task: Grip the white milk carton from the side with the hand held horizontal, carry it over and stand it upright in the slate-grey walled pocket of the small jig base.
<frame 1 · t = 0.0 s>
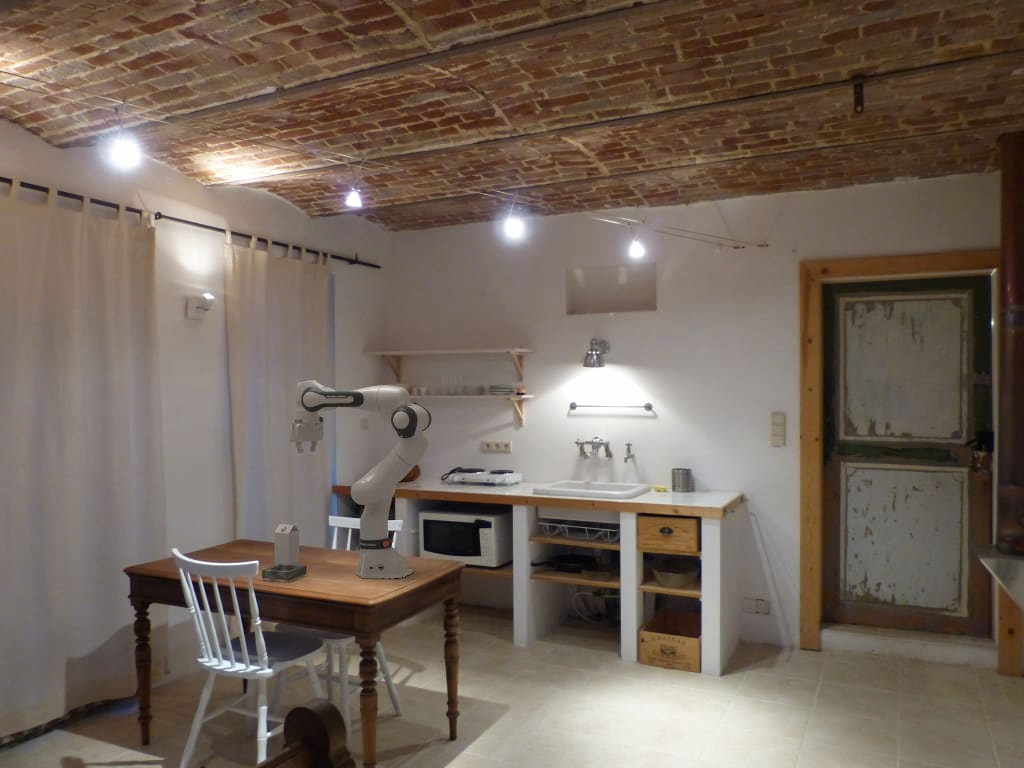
hand: (306, 452, 316), 48 cm above the table, tool pointing down, fingers open, 8 cm apart
milk carton: (286, 568, 318), on the table
jig board: (284, 578, 298), on the table
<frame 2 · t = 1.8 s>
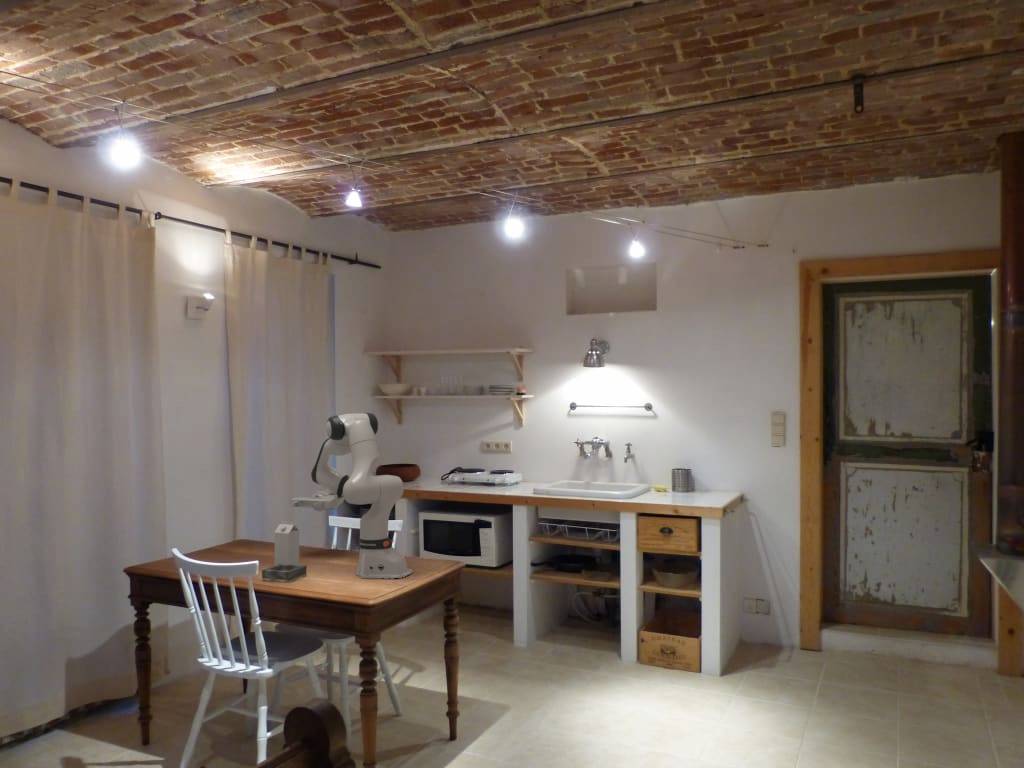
hand: (304, 505, 331), 24 cm above the table, tool horizontal, fingers open, 8 cm apart
nothing on the table moved.
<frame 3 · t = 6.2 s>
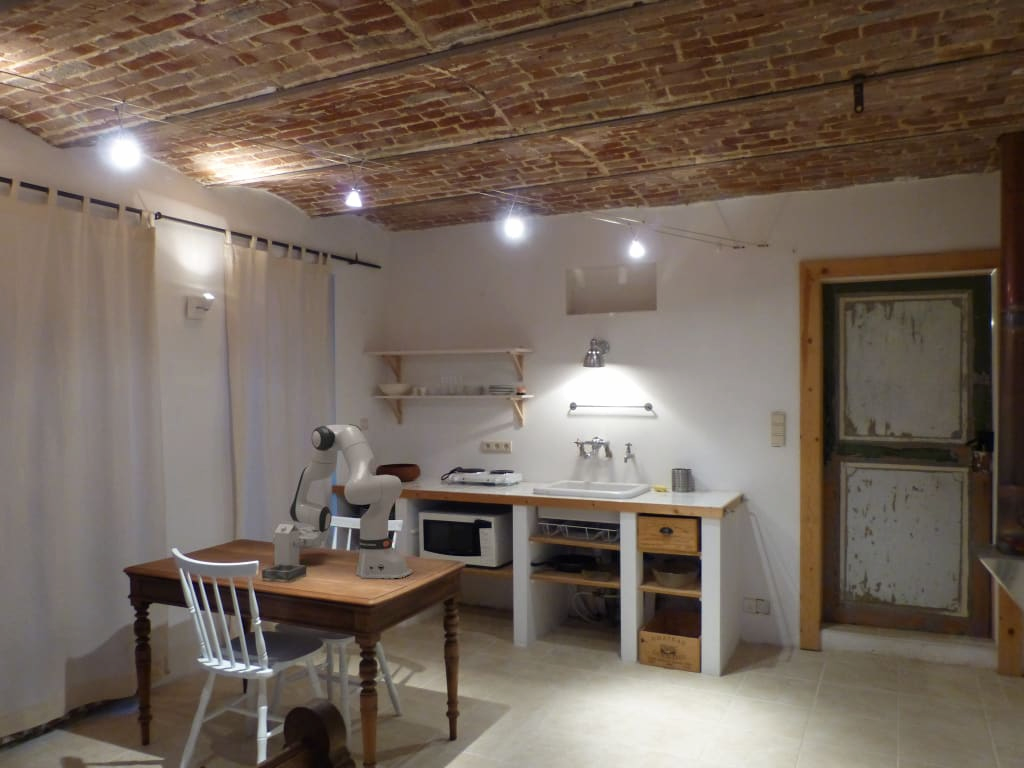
hand: (285, 543, 317), 10 cm above the table, tool horizontal, fingers closed on milk carton, 7 cm apart
milk carton: (286, 567, 318), on the table, touching gripper
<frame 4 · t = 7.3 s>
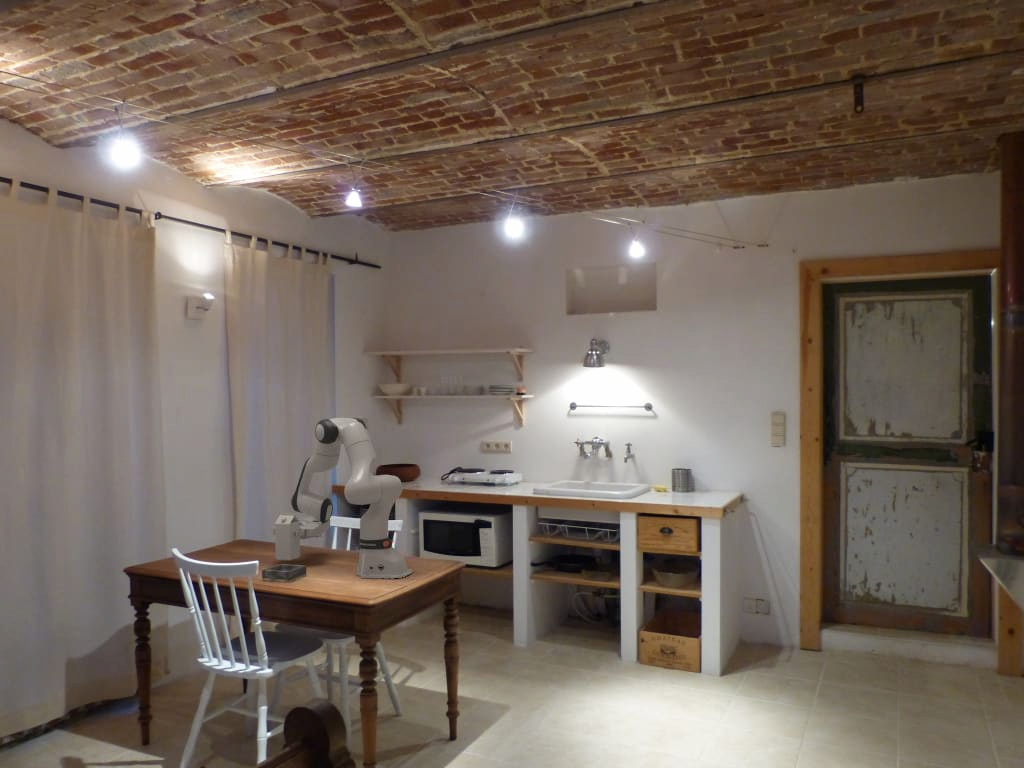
hand: (286, 533, 317), 14 cm above the table, tool horizontal, fingers closed on milk carton, 7 cm apart
milk carton: (287, 559, 317), point 4 cm above the table, touching gripper
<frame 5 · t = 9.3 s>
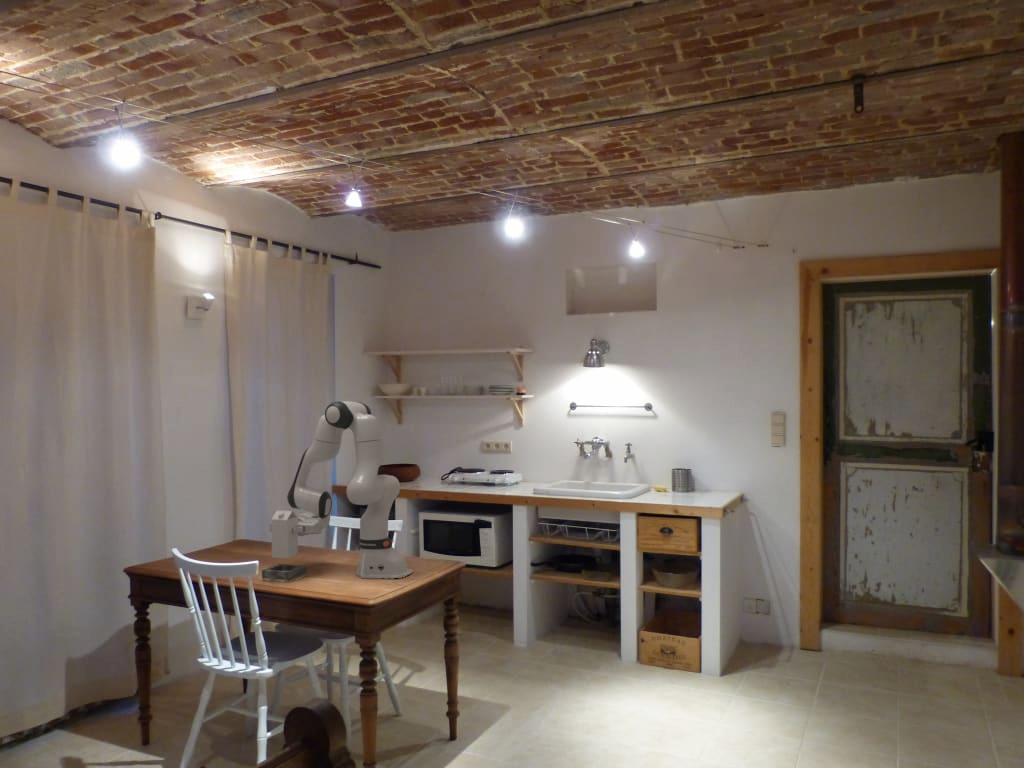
hand: (283, 530, 298), 19 cm above the table, tool horizontal, fingers closed on milk carton, 7 cm apart
milk carton: (284, 557, 299), point 8 cm above the table, touching gripper
when the fingers open (12 cm above the table, at t = 11.3 s): milk carton drops 1 cm, resting on jig board.
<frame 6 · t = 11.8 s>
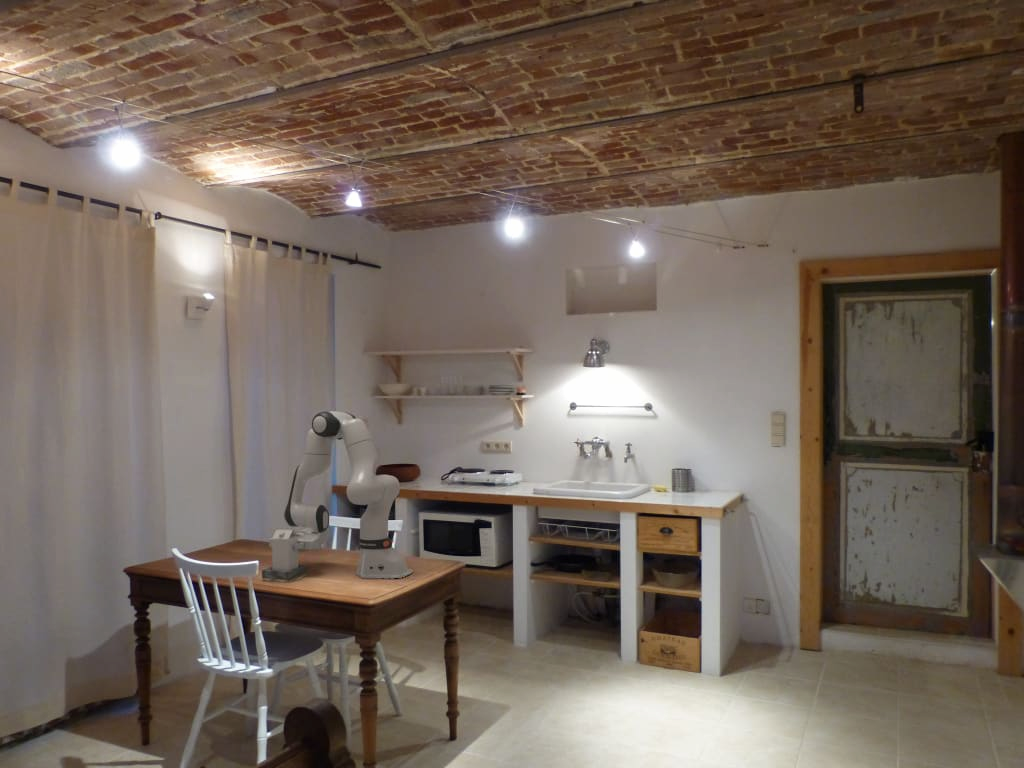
hand: (283, 546, 298), 12 cm above the table, tool horizontal, fingers open, 8 cm apart
milk carton: (285, 576, 298), point 1 cm above the table, touching gripper, jig board
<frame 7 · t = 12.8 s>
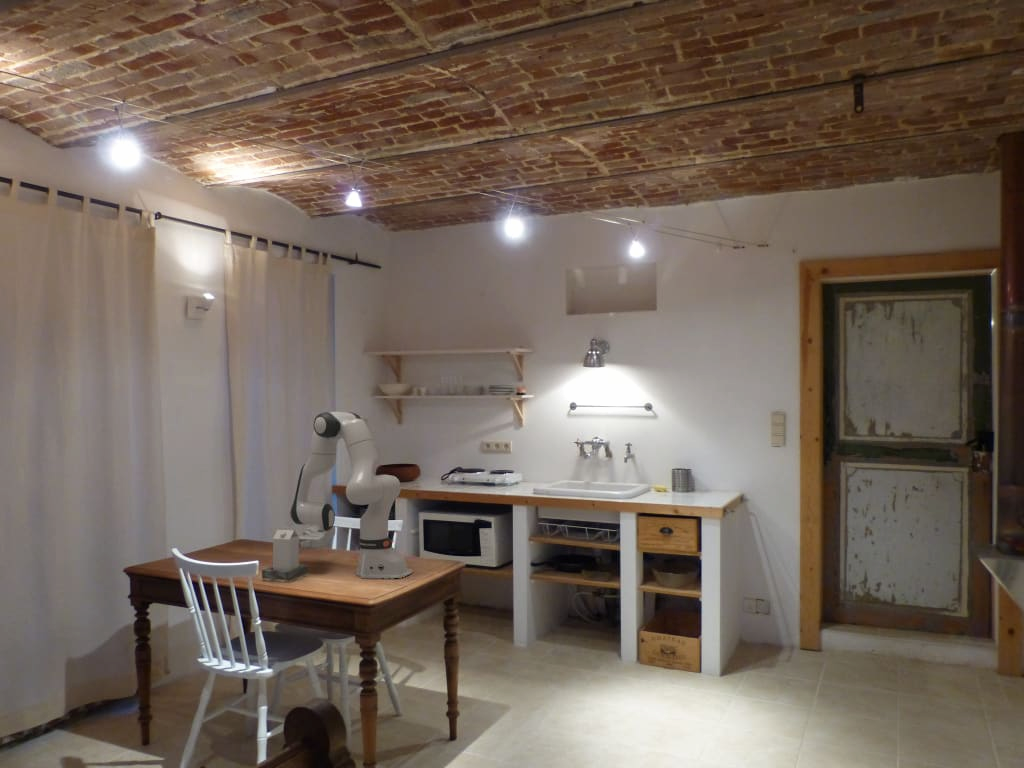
hand: (289, 544, 302), 13 cm above the table, tool horizontal, fingers open, 8 cm apart
milk carton: (286, 576, 298), point 1 cm above the table, touching jig board
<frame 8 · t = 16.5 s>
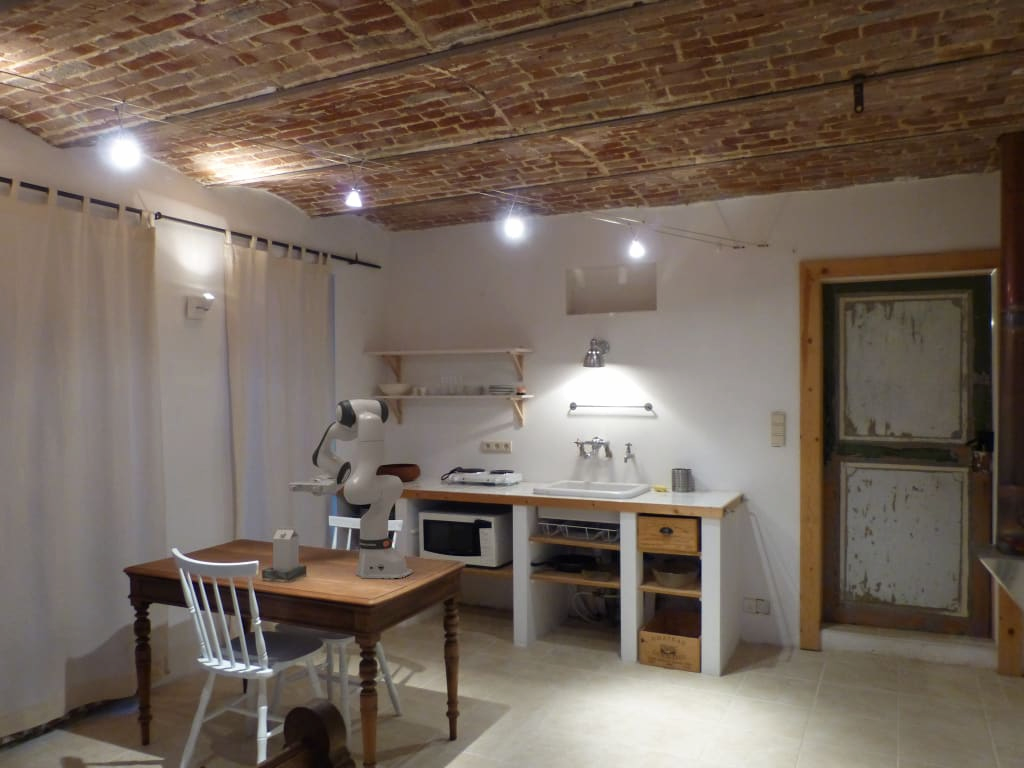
hand: (302, 489, 322), 32 cm above the table, tool horizontal, fingers open, 8 cm apart
nothing on the table moved.
at the end: milk carton 0.7 cm off-centre on the jig board, point 0.8 cm above the jig board's base; milk carton tilted 0°; the gripper is holding nothing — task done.
